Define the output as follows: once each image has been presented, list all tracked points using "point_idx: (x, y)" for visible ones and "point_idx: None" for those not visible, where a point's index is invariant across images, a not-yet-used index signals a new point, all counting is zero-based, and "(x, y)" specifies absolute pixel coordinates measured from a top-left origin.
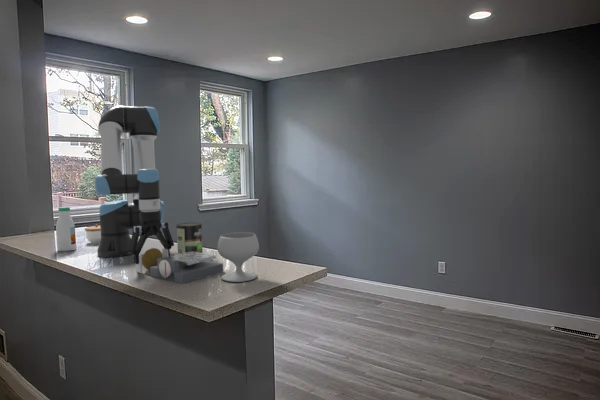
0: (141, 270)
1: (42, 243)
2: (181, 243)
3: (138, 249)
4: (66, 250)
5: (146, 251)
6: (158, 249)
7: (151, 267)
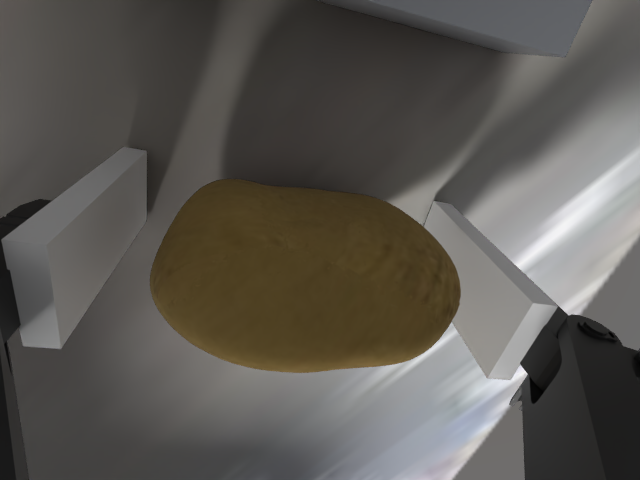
0: (450, 209)
1: None
2: None
3: (632, 379)
4: None
5: (431, 338)
6: (187, 321)
7: (573, 26)
